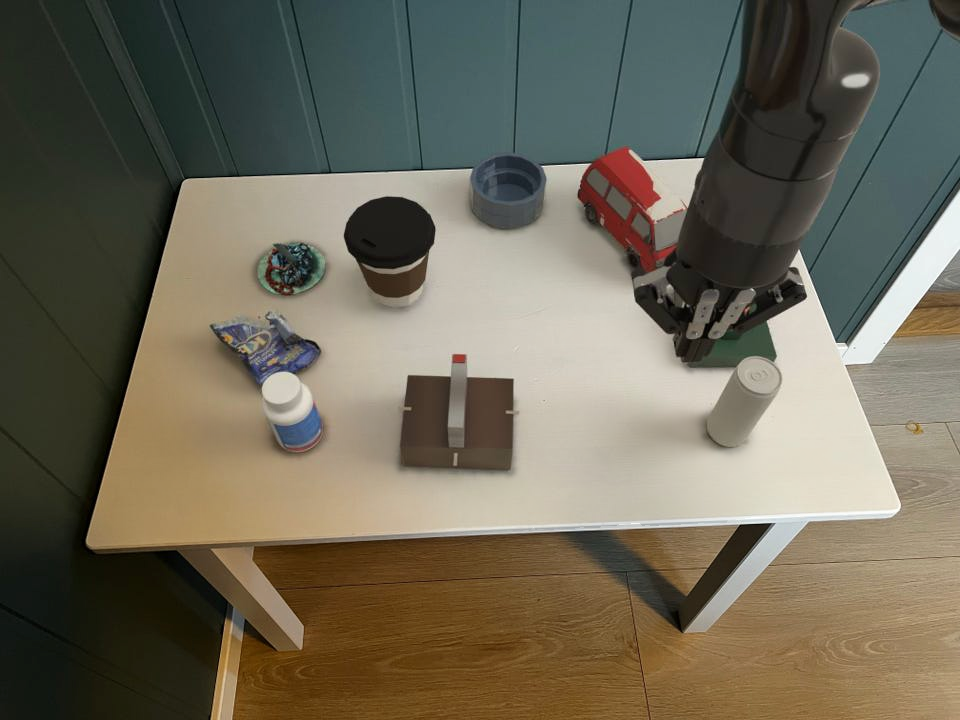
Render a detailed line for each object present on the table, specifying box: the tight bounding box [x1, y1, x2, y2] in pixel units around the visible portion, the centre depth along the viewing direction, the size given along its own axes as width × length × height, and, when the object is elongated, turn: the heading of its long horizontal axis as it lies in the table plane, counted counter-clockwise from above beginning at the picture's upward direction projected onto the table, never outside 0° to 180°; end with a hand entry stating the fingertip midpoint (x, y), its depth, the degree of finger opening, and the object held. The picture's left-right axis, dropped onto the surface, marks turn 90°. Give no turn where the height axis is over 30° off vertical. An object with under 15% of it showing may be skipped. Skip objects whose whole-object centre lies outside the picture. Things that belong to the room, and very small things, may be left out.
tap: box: [448, 353, 469, 448], centre depth 78 cm, size 9×2×5 cm, turn 178°
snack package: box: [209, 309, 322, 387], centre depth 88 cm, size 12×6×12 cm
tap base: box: [397, 374, 520, 471], centre depth 82 cm, size 13×13×5 cm
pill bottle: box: [261, 372, 324, 453], centre depth 80 cm, size 6×5×10 cm
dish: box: [257, 241, 326, 296], centre depth 97 cm, size 8×7×8 cm
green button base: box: [673, 289, 778, 368], centre depth 91 cm, size 12×10×4 cm
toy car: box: [576, 145, 688, 273], centre depth 97 cm, size 9×18×10 cm, turn 26°
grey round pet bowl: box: [469, 151, 548, 229], centre depth 103 cm, size 10×10×5 cm
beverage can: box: [706, 356, 784, 448], centre depth 79 cm, size 5×5×12 cm
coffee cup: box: [343, 195, 437, 309], centre depth 91 cm, size 11×11×12 cm
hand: (688, 353), depth 60 cm, fingers closed
